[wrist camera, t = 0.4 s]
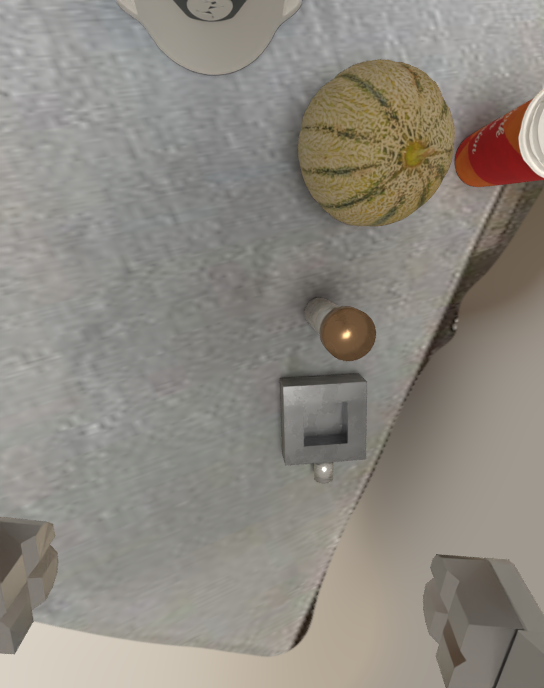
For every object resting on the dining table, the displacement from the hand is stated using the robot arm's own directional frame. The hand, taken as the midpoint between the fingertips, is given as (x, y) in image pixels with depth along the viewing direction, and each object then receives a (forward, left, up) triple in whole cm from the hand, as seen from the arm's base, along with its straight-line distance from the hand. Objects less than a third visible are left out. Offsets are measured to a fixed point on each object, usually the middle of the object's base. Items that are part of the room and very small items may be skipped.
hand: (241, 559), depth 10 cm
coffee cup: (-15, +30, -44) cm, 56 cm away
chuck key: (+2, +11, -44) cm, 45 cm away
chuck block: (+16, +11, -44) cm, 48 cm away
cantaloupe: (-15, +15, -44) cm, 49 cm away
